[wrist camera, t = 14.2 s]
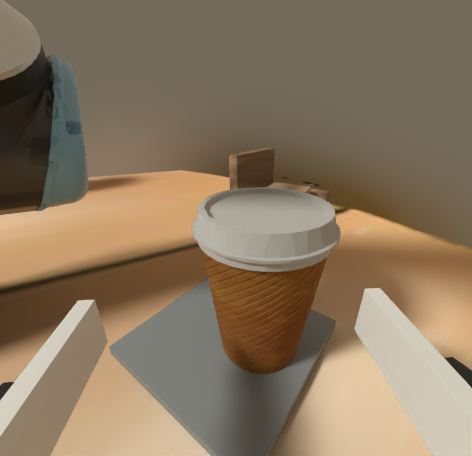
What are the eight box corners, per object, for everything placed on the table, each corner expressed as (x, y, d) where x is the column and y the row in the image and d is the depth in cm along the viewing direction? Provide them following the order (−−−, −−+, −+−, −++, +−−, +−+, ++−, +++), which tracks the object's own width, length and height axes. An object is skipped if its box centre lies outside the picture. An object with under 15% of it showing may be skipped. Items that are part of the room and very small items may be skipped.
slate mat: (111, 353, 21) (109, 346, 20) (220, 274, 31) (219, 269, 30) (249, 494, 13) (249, 487, 13) (334, 327, 23) (335, 320, 23)
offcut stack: (257, 213, 47) (258, 187, 45) (273, 204, 51) (275, 180, 49) (298, 223, 42) (301, 195, 40) (311, 213, 46) (314, 187, 44)
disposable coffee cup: (195, 312, 24) (182, 191, 19) (284, 293, 26) (294, 181, 21) (216, 417, 16) (204, 251, 11) (344, 374, 18) (383, 224, 13)
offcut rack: (230, 221, 46) (229, 155, 41) (266, 203, 56) (268, 147, 51) (298, 241, 39) (306, 163, 34) (326, 216, 48) (336, 152, 43)
